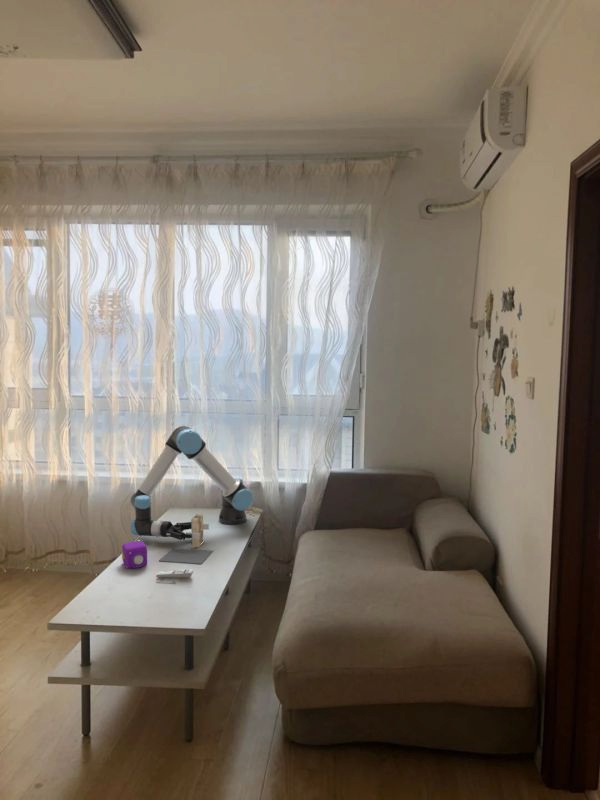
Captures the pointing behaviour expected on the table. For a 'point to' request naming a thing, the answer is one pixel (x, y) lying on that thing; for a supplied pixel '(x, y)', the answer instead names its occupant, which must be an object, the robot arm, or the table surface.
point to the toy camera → (134, 554)
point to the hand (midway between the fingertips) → (203, 531)
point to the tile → (197, 529)
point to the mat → (186, 556)
